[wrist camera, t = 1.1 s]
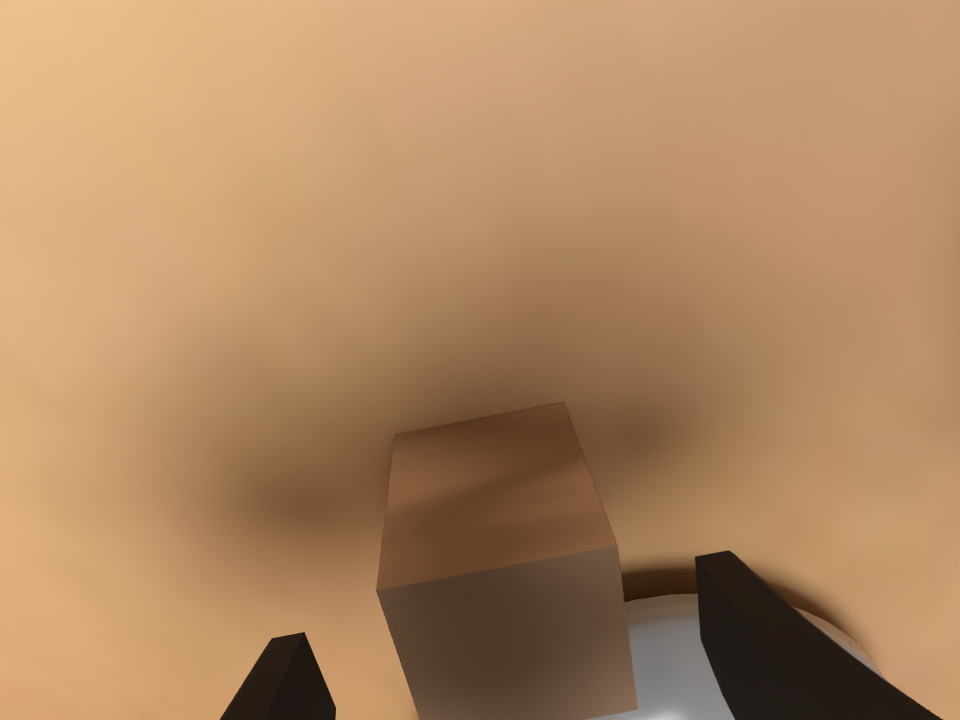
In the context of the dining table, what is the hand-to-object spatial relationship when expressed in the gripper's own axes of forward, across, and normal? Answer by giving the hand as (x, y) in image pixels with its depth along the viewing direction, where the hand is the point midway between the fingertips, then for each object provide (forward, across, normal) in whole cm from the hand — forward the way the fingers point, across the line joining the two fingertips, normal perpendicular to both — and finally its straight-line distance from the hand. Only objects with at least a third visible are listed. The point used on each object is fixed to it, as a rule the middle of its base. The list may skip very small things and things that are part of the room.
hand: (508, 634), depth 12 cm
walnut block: (+4, 0, 0) cm, 5 cm away
